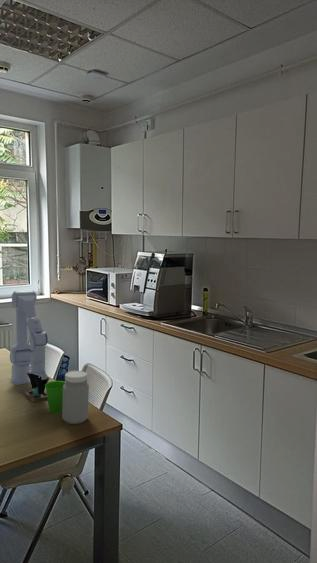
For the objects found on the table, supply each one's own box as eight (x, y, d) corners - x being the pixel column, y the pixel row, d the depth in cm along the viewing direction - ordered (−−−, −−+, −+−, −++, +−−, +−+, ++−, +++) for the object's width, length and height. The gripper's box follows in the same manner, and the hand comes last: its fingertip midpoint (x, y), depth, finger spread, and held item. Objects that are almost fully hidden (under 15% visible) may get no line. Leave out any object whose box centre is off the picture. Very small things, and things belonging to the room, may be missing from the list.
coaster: (17, 391, 183) (17, 391, 183) (28, 389, 186) (28, 388, 186) (21, 395, 179) (21, 394, 179) (32, 393, 182) (32, 392, 182)
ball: (31, 395, 178) (31, 386, 177) (40, 393, 180) (40, 385, 180) (34, 399, 175) (35, 390, 174) (43, 397, 177) (44, 388, 177)
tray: (24, 395, 179) (24, 391, 179) (42, 392, 184) (42, 388, 184) (32, 403, 171) (32, 399, 171) (51, 399, 176) (51, 395, 176)
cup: (70, 407, 169) (71, 381, 168) (63, 416, 160) (63, 389, 159) (49, 405, 170) (49, 379, 169) (40, 414, 161) (41, 387, 160)
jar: (60, 415, 161) (61, 370, 159) (85, 412, 164) (86, 369, 162) (64, 426, 152) (64, 379, 150) (90, 423, 155) (91, 377, 153)
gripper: (22, 357, 179) (22, 387, 181) (35, 366, 168) (34, 398, 169) (38, 355, 183) (38, 384, 185) (51, 363, 172) (51, 394, 173)
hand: (37, 391), depth 177 cm, fingers open, 7 cm apart
